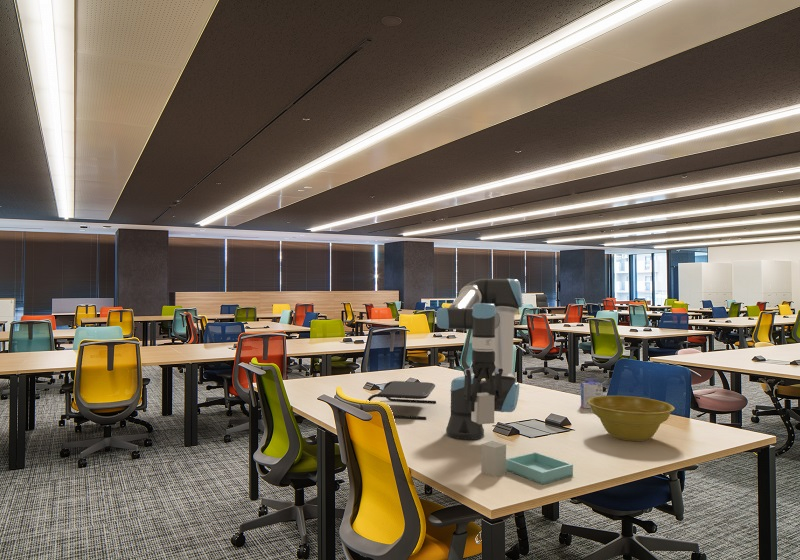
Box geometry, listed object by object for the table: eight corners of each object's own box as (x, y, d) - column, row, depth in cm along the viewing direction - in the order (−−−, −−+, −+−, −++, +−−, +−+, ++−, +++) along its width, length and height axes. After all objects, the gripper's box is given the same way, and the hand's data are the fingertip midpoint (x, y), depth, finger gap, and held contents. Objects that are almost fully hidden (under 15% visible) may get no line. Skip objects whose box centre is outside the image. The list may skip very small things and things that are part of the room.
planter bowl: (621, 451, 195) (622, 414, 195) (571, 428, 226) (571, 396, 226) (693, 445, 203) (694, 409, 204) (635, 424, 235) (635, 394, 235)
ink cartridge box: (599, 406, 271) (599, 377, 272) (603, 408, 266) (603, 379, 266) (580, 406, 271) (580, 377, 272) (583, 408, 266) (583, 379, 266)
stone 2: (481, 472, 170) (481, 443, 170) (492, 468, 174) (492, 440, 174) (495, 476, 166) (495, 447, 166) (505, 473, 170) (506, 444, 170)
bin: (505, 470, 172) (505, 459, 172) (535, 462, 180) (535, 452, 180) (542, 484, 160) (542, 472, 160) (572, 475, 168) (572, 464, 168)
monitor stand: (426, 420, 238) (426, 396, 238) (365, 417, 244) (365, 393, 244) (436, 403, 275) (436, 382, 275) (383, 400, 280) (383, 380, 280)
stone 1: (471, 420, 177) (471, 393, 178) (486, 419, 179) (486, 392, 179) (479, 424, 172) (479, 396, 172) (494, 423, 174) (494, 395, 174)
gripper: (463, 351, 170) (462, 425, 169) (514, 350, 176) (513, 421, 175) (453, 349, 177) (452, 419, 176) (502, 348, 183) (501, 416, 182)
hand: (482, 420), depth 176 cm, fingers closed on stone 1, 5 cm apart
